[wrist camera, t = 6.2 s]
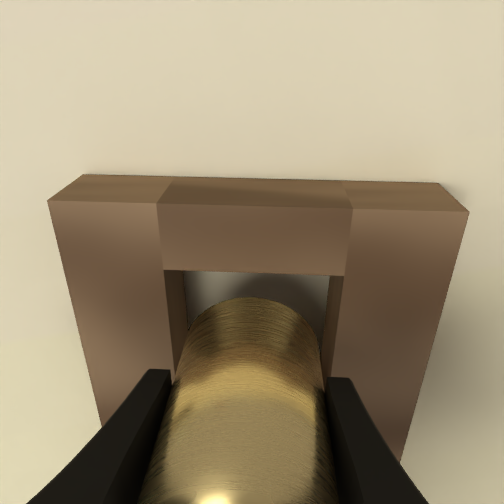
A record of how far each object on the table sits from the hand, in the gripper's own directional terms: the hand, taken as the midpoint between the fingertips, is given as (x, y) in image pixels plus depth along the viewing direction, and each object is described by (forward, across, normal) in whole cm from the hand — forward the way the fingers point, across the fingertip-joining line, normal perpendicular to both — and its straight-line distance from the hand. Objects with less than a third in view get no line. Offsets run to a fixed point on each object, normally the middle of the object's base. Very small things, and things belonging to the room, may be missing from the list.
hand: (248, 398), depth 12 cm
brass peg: (+2, 0, 0) cm, 2 cm away
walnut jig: (+5, 0, +5) cm, 7 cm away
